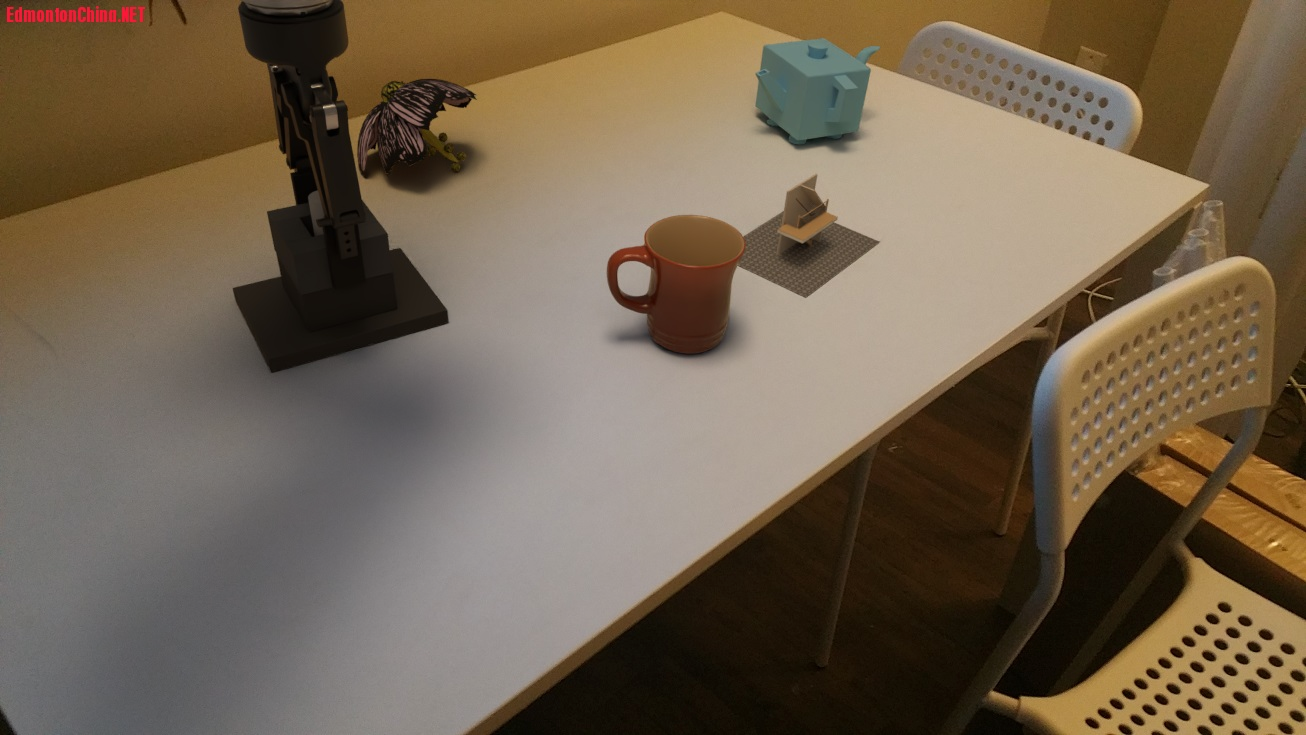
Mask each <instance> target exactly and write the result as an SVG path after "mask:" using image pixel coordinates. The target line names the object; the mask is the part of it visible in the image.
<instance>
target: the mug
mask: <svg viewBox="0 0 1306 735" xmlns="http://www.w3.org/2000/svg"><path fill="white" fill-rule="evenodd" d="M743 236H744V235H743V234H742V233H741V232H740V231H739V229H737V228H736V227H734V226H732V225H731V224H729V223H728V222H725V221H723V220H720V219H717V218H715V217H711V216H706V215H700V214H699V215H698V214H680V215H679V214H678V215H673V216H667V217H664V218H662V219H660V220H659V219H658V220H657V221H656V222H654V223H653V224H651V225H650V226H649V227H648V229H646V230H645V232H644V235H643V238H644V239H643V240H644V243H643V244H642V245H636V246H630V247H624V248H620V249H618V250H616V251H615V252H613V253H612V254H611V255H610V257H609V258H608V261H607V264H606V280H607V281H606V282H607V287H608V289H609V292H610V294H611V296H612V298H613V299H614V300H615V301H616V302H617V303H618V305H619V306H621V307H623V308H625V309H627V310H630V311H632V312H635V313H638V314H643V315H646V323H647V327H648V333H649V335H650V337H651V338H652V340H653V341H654V342H655V343H656V344H657V345H659V346H660V347H662V348H665V349H666V350H668V351H671V352H674V353H678V354H684V355H692V354H699V353H703V352H707V351H709V350H711V349H714V348H715V347H717V345H719V344H720V343H721V341H722V340H723V337H724V334H725V332H726V331H727V327H728V324H729V319H730V307H731V299H732V287H733V278H734V276H735V272H736V270H737V268H738V264H739V262H740V260H741V258H742V256H743V254H744V251H745V247H746V244H745V240H744V237H743ZM629 262H636V263H641V264H643V265H644V266H646V267H649V268H650V276H649V284H648V289H647V292H646V293H645V294H643V295H630V294H628V293H625V292H624V291H623V290H622V289H621V287H620V286H619V278H618V276H619V275H618V272H619V268H620V266H621V265H623V264H624V263H629Z"/></svg>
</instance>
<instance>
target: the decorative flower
mask: <svg viewBox="0 0 1306 735" xmlns="http://www.w3.org/2000/svg"><path fill="white" fill-rule="evenodd" d="M476 96H477V94H476V93H475V92H473V91H472V90H469V89H468V88H466V87H464V86H461V85H459V84H457V83H454V82H452V81H448V80H443V79H438V78H420V79H416V80H412V81H409V82H407V83H406V82H404V81H403V80H401V81H396V80H391V81H389V82H388V83H386V84H385V85H383V87H382V89H381V90H380V97H381V99H382V101H380V102H379V103H378V104H376V105H375V106H374V107H373V108H371V110H370V111H369V112H368V114H367V116H365V118H364V119H363V123H362V124H361V128H360V130H359V133H358V140H357V148H356V150H357V151H356V153H357V154H356V155H357V164H358V169H359V172H360V174H361V175H362V177H365V175H366V173H367V172H366V171H367V160H368V152H369V151H370V150H374V151H375V150H376V149H377V151H378V156H379V158H380V161H381V165H382V168H383V170H384V172H385V174H386V177H389V175H390V176H391V171H393V167H394V166H396V164H397V163H398V161H399V163H405V164H406V165H407V166H408V167H411V166H413V165H415V164H418V163H420V161H425V158H426V154H427V156H429V157H434V156H436V155H437V152H439V153H440V154H441V155H442V157H443V159H446V160H450V161H452V162H453V163H451V165H450V168H451V170H452V171H453V172H454V173H458V172H460V171H461V164H460V163H459V162H463V161H465V160H466V159H467V155H466V153H465V152H464V151H462V150H461V151H459V152H457V153H456V156H455V155H454V154H453V151H454V146H453V144H452V143H450V142H448V143H446V142H447V141H448V138H449V137H448V135H447V132H440V133H439V134H438V135H437V136H436V135H435V134H434V133H433V131H432V130H430V129H431V128H430V126H431V122H432V121H433V120H435V119H438V118H439V116H438V113H439V112H447V109H446V106H445V105H448V106H451V107H453V108H457V109H467V107H468V106H469V105H470V103H471V102H472V100H476V101H478V99H477V97H476ZM444 104H445V105H444ZM425 141H426V142H427V143H428V144H429V145H430V146H428V147H426V142H425ZM444 143H445V144H444Z"/></svg>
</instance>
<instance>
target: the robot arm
mask: <svg viewBox="0 0 1306 735" xmlns="http://www.w3.org/2000/svg"><path fill="white" fill-rule="evenodd" d="M240 1H241V2H240V3H239V4H238V7H237V10H238V15H239V21H240V24H241V26H240V27H241V31H242V36H243V42H244V46H245V49H246V51H247V53H248V54H249V55H250V56H251V57H252V58H253V59H255V60H257V61H259V62H262V63H264V64H266V68H267V71H268V75H269V76H268V77H269V83H270V89H271V96H272V103H273V109H274V116H275V122H276V130H277V131H276V132H277V138H278V144H279V145H278V149H279V151H280V152H281V155H285V163H286V166H287V167H288V168H289V170H290V171H293V172H290V173H289V174H290V180H291V185H292V191H293V197H294V201H295V205H299V204H304V203H309V200H308V196H309V195H310V194H311V193H312V192H315V191H318V193H319V197H320V201H321V204H322V208H323V212H324V218H321V219H317V220H316V223H317V225H318V227H319V228H320V227H322V228H323V234H324V240H325V246H326V251H327V257H328V263H329V269H330V275H331V281H332V286H333V287H334V289H339V288H343V287H347V286H351V285H355V284H359V283H363V282H366V278H365V271H364V264H363V257H362V250H361V243H360V236H359V229H358V223H363V222H365V220H366V219H365V217H366V215H365V212H364V209H363V203H362V200H363V199H362V193H361V188H360V187H361V186H360V182H359V177H358V171H357V166H356V161H355V156H354V151H353V145H352V140H351V135H350V125H349V114H348V112H349V107H348V105H347V104H346V102H345V100H343V99H342V100H338V97H339V90H338V87H337V84H336V79H335V77H334V76H333V75H329V72H328V70H327V66H328V64H329V63H330V62H331V61H333V60H335V58H339V57H340V56H342V55H343V54H344V53H345V52H346V51H347V49H348V47H349V34H348V33H349V32H348V26H347V19H346V10H345V4H344V2H343V1H342V0H240Z"/></svg>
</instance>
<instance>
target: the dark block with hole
mask: <svg viewBox="0 0 1306 735" xmlns="http://www.w3.org/2000/svg"><path fill="white" fill-rule="evenodd" d="M275 255H276V258H277V264H278V269H279V273H280V276H281V279H282V284H283V288H284V289H285V291H286V293H287V295H288V296H289V298H290V300H291V302H292V303H293V305H294V307H295V309H296V310H297V312H298V314H299V316H300V317H301V319H302V321H303V323H304V324H305V326H306V328H307V330H308V331H309V333H310V332H314V331H318V330H322V329H325V328H329V327H333V326H336V325H340V324H344V323H348V322H351V321H355V320H359V319H362V318H366V317H370V316H374V315H377V314H381V313H385V312H388V311H392V310H396V309H397V300H396V292H395V283H394V275H393V272H392V273H388V274H384V275H380V276H376V277H372V278H368V279H366V282H363V283H359V284H355V285H351V286H347V287H343V288H339V289H334V287H332V288H328V289H324V290H320V291H316V292H312V293H308V294H304V295H301V294H300V293H299V291H298V289H297V288H296V286H295V284H294V282H293V281H292V279H291V277H290V276H289V274H288V272H287V271H286V269H285V267H284V265H283V264H282V262H281V260H280V258H279V257H278V255H277V253H276V252H275Z"/></svg>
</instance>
